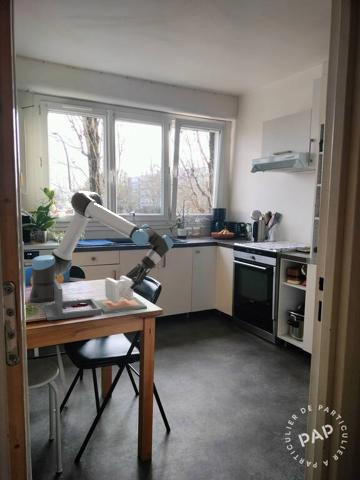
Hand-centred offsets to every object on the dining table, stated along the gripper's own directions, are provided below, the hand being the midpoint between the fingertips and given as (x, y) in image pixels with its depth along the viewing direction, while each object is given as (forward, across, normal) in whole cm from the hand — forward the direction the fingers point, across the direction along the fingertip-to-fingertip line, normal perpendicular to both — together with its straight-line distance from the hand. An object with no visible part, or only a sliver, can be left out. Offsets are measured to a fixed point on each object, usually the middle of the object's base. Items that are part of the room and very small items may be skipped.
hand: (123, 290), depth 180 cm
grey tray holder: (+24, 0, +13) cm, 27 cm away
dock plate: (+6, 0, -5) cm, 8 cm away
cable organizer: (+5, 0, -2) cm, 6 cm away
